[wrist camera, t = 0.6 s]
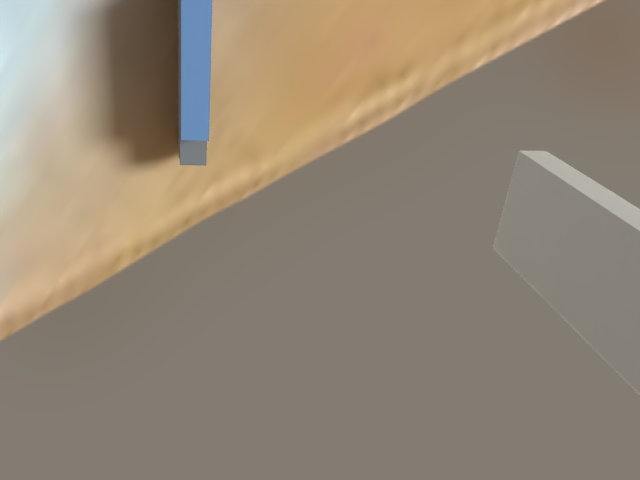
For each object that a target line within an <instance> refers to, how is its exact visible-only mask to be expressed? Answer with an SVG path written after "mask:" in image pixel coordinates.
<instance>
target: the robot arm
mask: <svg viewBox="0 0 640 480" xmlns="http://www.w3.org/2000/svg"><path fill="white" fill-rule="evenodd" d="M493 249H494V250H495V251H496V252H498V254H500V256H501V257H502V258H503V259H504V260H505V261H506V262H507V263H508V264H509V265H510V266H511V267H512V268H513V269H514V270H515V271H516V272H517V273H518V274H519V275H520V276H521V277H522V278H523V279H524V280H525V281H526V282H527V283H528V284H529V285H530V286H531V287H532V288H533V289H534V290H535V291H536V292H537V293H538V294H539V295H540V296H541V297H542V298H543V299H544V300H545V301H546V302H547V303H548V304H549V305H550V306H551V307H552V308H553V309H554V310H555V311H556V312H557V313H558V314H559V315H560V316H561V317H562V318H563V319H564V320H565V321H566V322H567V323H568V324H569V325H570V326H571V327H572V328H573V329H574V330H575V331H576V332H577V333H578V334H579V335H580V336H581V337H582V338H583V339H584V340H585V341H586V342H587V343H588V344H589V345H590V346H591V347H592V348H593V349H594V350H595V351H596V352H597V353H598V354H599V355H600V356H601V357H602V358H603V359H604V360H605V361H606V362H607V363H608V364H609V365H610V366H611V367H612V368H613V369H614V370H615V371H616V372H617V373H618V374H619V375H620V376H621V377H622V378H623V379H624V380H625V381H626V382H627V383H628V384H629V385H630V386H631V387H632V388H633V389H634V390H635V391H636V392H637V393H638V394H639V395H640V209H639V208H637V207H635V206H634V205H632V204H630V203H629V202H627V201H626V200H624V199H622V198H621V197H619V196H618V195H616V194H614V193H613V192H611V191H610V190H608V189H606V188H605V187H603V186H602V185H600V184H598V183H597V182H595V181H593V180H592V179H590V178H589V177H587V176H585V175H584V174H582V173H580V172H579V171H577V170H576V169H574V168H572V167H571V166H569V165H568V164H566V163H564V162H563V161H561V160H560V159H558V158H556V157H555V156H553V155H552V154H550V153H548V152H547V151H519V153H518V156H517V160H516V164H515V168H514V171H513V175H512V179H511V183H510V187H509V190H508V194H507V197H506V202H505V205H504V209H503V212H502V216H501V220H500V224H499V227H498V231H497V235H496V239H495V242H494V246H493Z"/></svg>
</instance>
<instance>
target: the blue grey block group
mask: <svg viewBox="0 0 640 480" xmlns="http://www.w3.org/2000/svg"><path fill="white" fill-rule="evenodd" d="M211 28H212V0H178V150H179V159H180V165H206V150H207V141H209V116H210V72H211Z"/></svg>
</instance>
